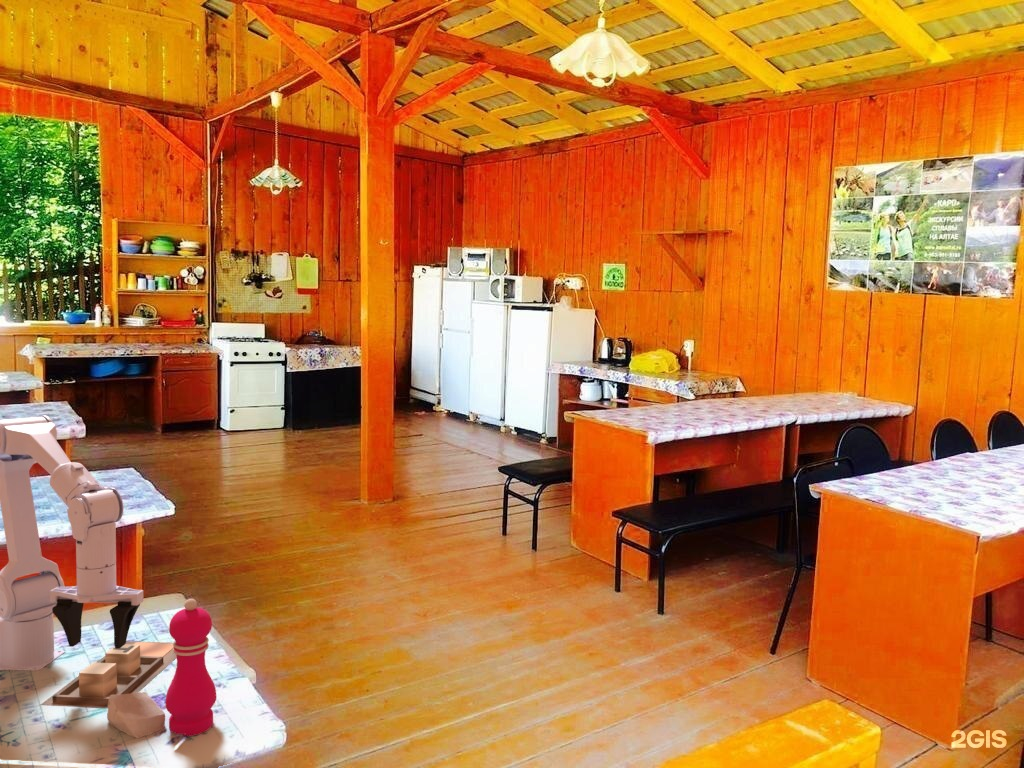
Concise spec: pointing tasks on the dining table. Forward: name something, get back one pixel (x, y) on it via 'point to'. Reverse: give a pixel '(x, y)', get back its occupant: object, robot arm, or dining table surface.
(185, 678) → the pepper mill
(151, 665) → the organiser
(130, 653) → the letter cube
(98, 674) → the blank cube
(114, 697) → the tan faceted block
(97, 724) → the dining table surface
